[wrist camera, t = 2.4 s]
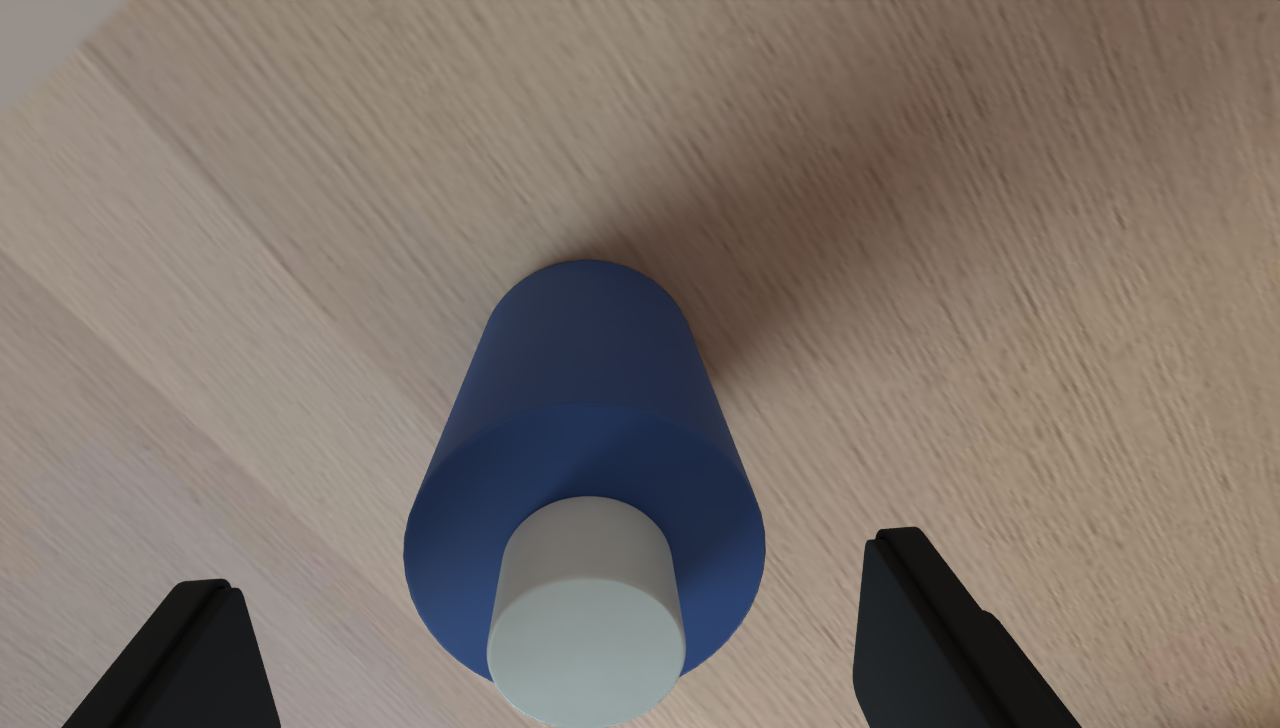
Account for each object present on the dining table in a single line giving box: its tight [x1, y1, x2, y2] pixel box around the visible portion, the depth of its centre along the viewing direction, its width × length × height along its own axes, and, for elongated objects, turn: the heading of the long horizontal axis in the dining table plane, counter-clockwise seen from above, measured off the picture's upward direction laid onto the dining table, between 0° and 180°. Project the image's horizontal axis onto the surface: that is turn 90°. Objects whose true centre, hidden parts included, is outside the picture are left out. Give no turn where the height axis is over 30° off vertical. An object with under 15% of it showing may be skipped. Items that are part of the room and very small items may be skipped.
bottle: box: [403, 260, 766, 728], centre depth 15 cm, size 6×6×11 cm
